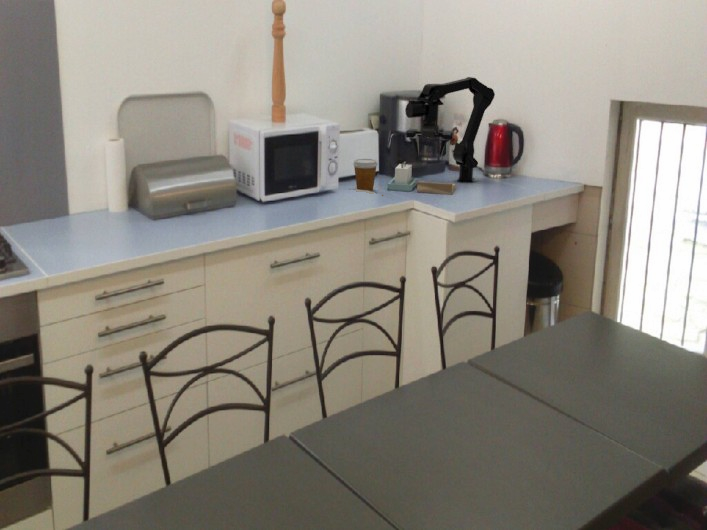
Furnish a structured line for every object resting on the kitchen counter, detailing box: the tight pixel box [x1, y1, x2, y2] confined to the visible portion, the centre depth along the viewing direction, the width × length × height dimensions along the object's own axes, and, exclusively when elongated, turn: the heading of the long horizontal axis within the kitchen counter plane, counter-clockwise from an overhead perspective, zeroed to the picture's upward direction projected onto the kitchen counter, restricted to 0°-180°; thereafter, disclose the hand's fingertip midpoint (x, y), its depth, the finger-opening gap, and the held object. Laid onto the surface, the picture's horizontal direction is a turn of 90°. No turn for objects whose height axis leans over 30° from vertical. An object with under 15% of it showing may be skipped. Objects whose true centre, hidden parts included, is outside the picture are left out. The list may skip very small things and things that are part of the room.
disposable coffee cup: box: [352, 158, 379, 193], centre depth 298 cm, size 10×10×12 cm
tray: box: [387, 176, 419, 192], centre depth 307 cm, size 14×10×2 cm
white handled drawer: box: [394, 161, 413, 185], centre depth 305 cm, size 9×5×10 cm, turn 165°
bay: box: [416, 181, 456, 195], centre depth 301 cm, size 11×14×4 cm
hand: (429, 155), depth 308 cm, fingers open, 9 cm apart
